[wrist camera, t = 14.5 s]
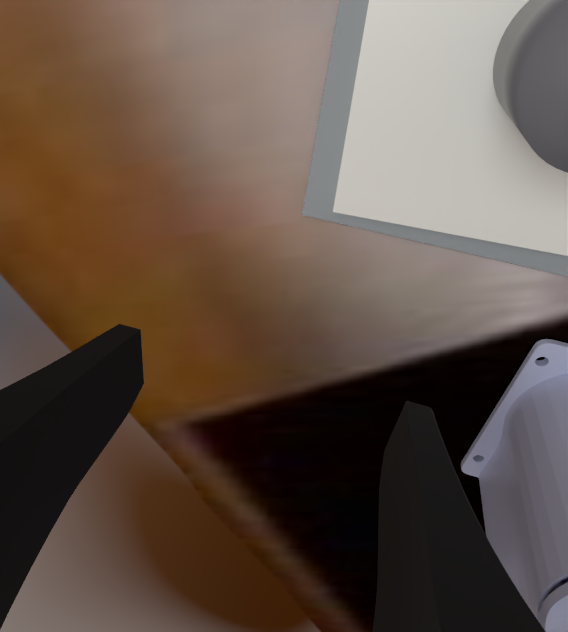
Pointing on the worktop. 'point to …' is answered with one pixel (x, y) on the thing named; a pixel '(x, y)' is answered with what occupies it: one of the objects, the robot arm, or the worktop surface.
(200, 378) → the worktop surface
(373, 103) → the cover
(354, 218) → the mat
